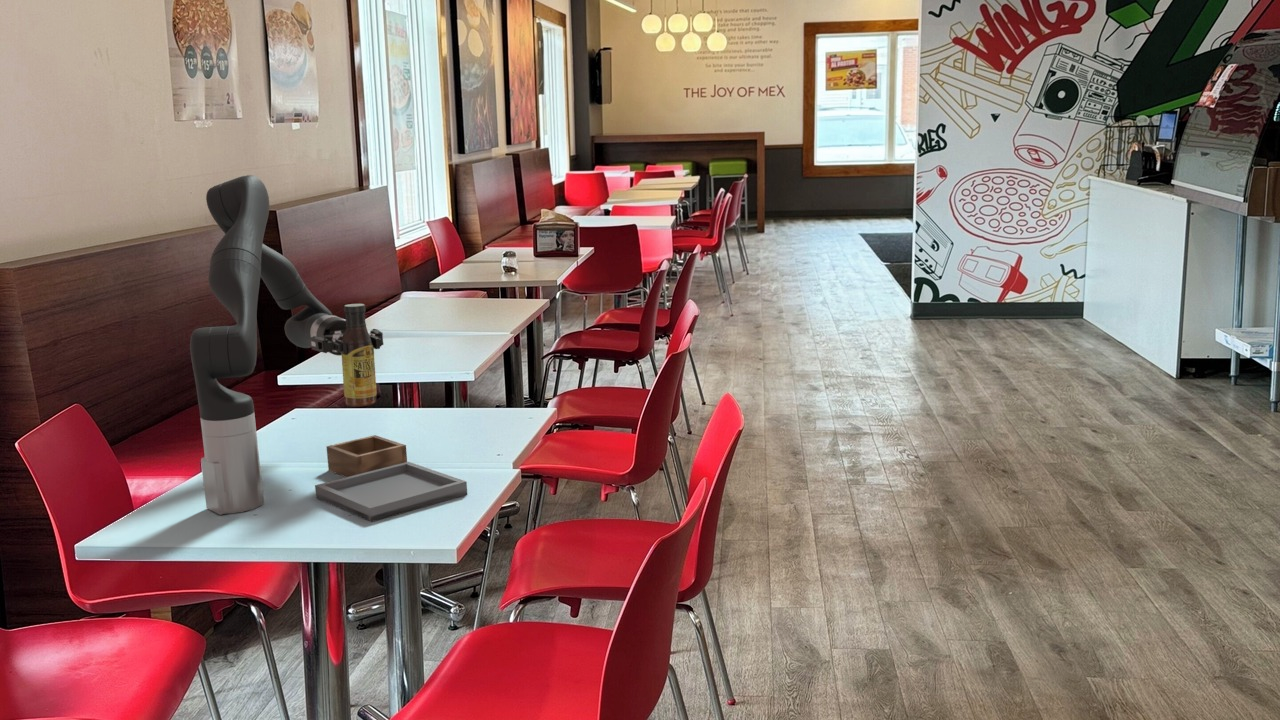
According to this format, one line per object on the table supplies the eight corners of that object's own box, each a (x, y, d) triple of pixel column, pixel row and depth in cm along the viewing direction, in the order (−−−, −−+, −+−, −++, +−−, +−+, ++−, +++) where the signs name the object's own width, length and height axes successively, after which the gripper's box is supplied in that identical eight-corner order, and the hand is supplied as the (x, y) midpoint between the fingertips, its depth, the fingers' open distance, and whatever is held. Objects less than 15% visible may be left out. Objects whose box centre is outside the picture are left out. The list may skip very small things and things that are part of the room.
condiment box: (358, 481, 220) (356, 457, 219) (328, 470, 229) (326, 446, 228) (407, 469, 227) (405, 445, 226) (376, 458, 236) (374, 435, 235)
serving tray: (371, 522, 196) (370, 508, 196) (316, 498, 211) (314, 485, 210) (467, 494, 210) (466, 481, 209) (409, 473, 224) (408, 461, 224)
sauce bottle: (359, 409, 221) (349, 308, 216) (338, 405, 224) (328, 306, 220) (385, 402, 226) (376, 303, 221) (364, 398, 229) (355, 301, 225)
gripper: (297, 320, 230) (323, 331, 216) (366, 312, 237) (395, 322, 224) (300, 357, 231) (327, 370, 217) (368, 348, 239) (398, 359, 225)
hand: (361, 345), depth 221 cm, fingers closed on sauce bottle, 6 cm apart
